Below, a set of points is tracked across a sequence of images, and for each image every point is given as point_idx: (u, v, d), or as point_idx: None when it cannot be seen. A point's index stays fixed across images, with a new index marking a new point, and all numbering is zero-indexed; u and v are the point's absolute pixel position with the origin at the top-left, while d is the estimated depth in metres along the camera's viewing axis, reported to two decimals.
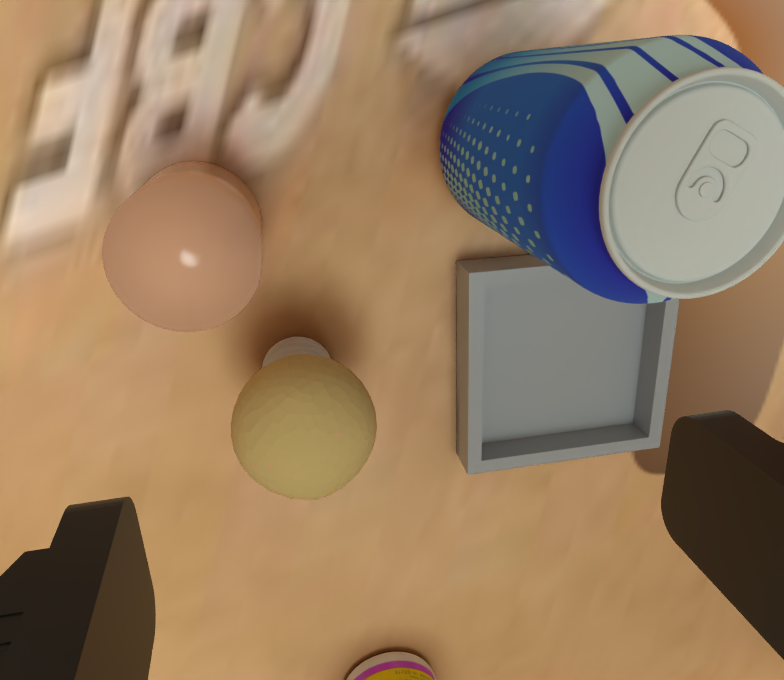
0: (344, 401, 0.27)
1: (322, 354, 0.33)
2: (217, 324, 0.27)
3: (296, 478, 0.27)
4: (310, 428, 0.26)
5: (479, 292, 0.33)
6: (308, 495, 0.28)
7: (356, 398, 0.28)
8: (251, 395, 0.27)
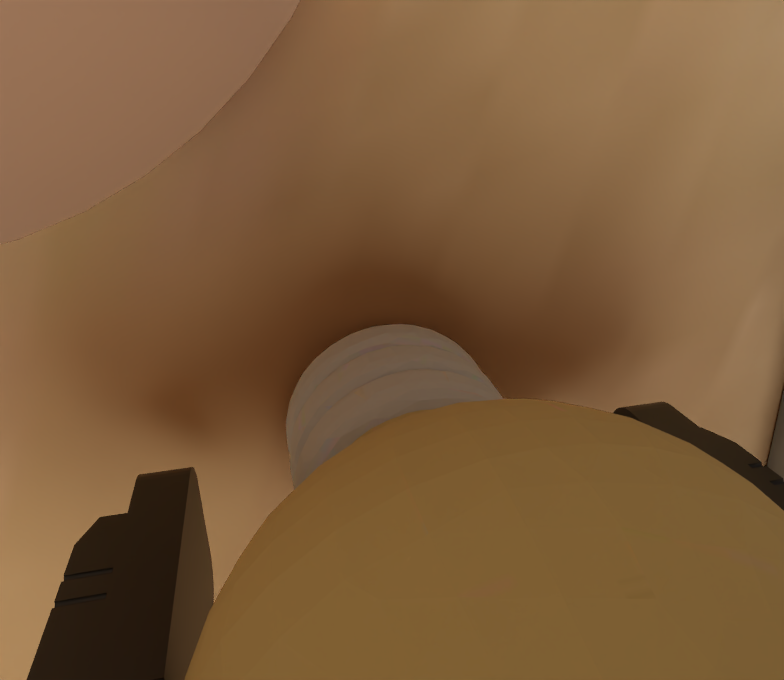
0: None
1: (486, 381, 0.10)
2: (36, 219, 0.04)
3: None
4: None
5: None
6: None
7: None
8: None
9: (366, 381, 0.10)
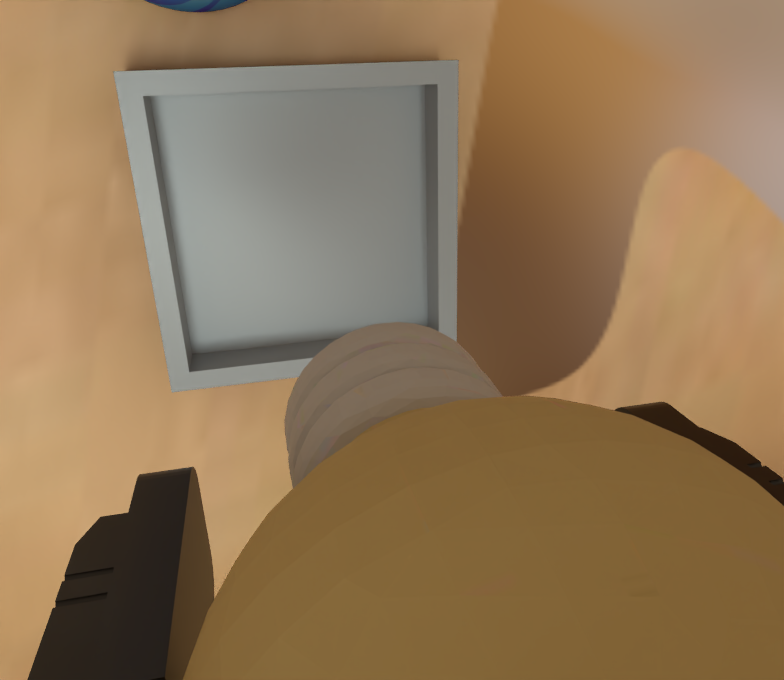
0: None
1: (486, 379, 0.10)
2: None
3: None
4: None
5: (137, 104, 0.22)
6: None
7: None
8: None
9: (365, 379, 0.10)
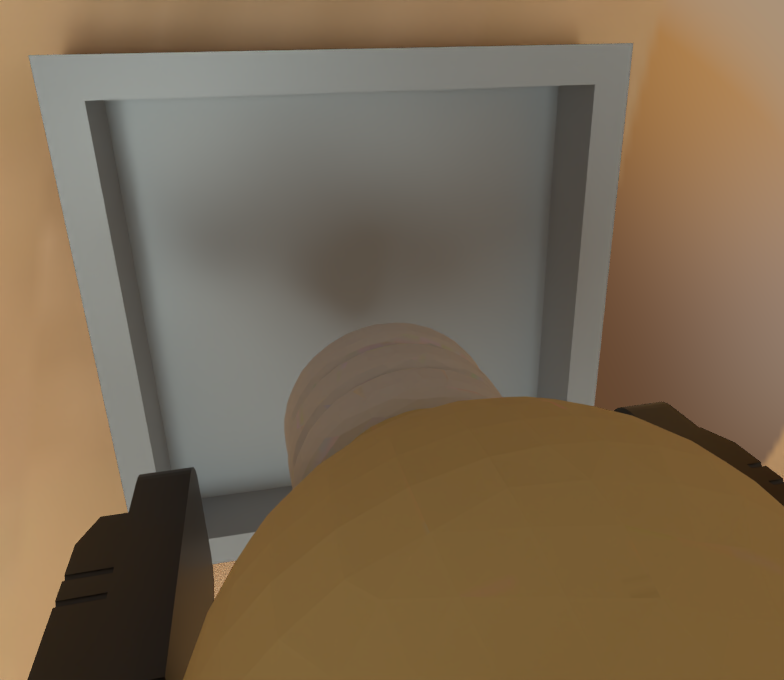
0: None
1: (485, 379, 0.10)
2: None
3: None
4: None
5: (74, 116, 0.12)
6: None
7: None
8: None
9: (365, 380, 0.10)
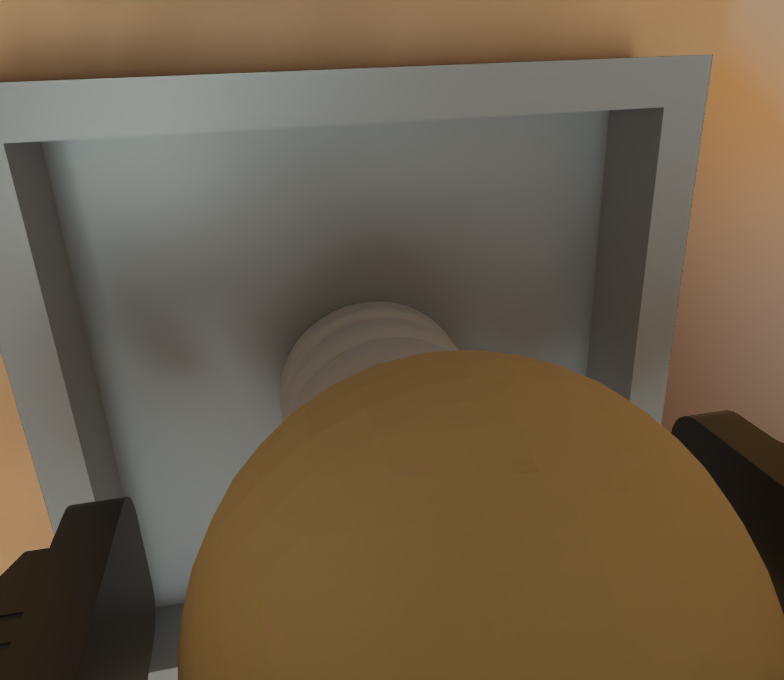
0: (736, 587, 0.05)
1: (455, 350, 0.12)
2: None
3: None
4: None
5: None
6: None
7: (749, 552, 0.06)
8: (268, 556, 0.06)
9: (348, 348, 0.11)
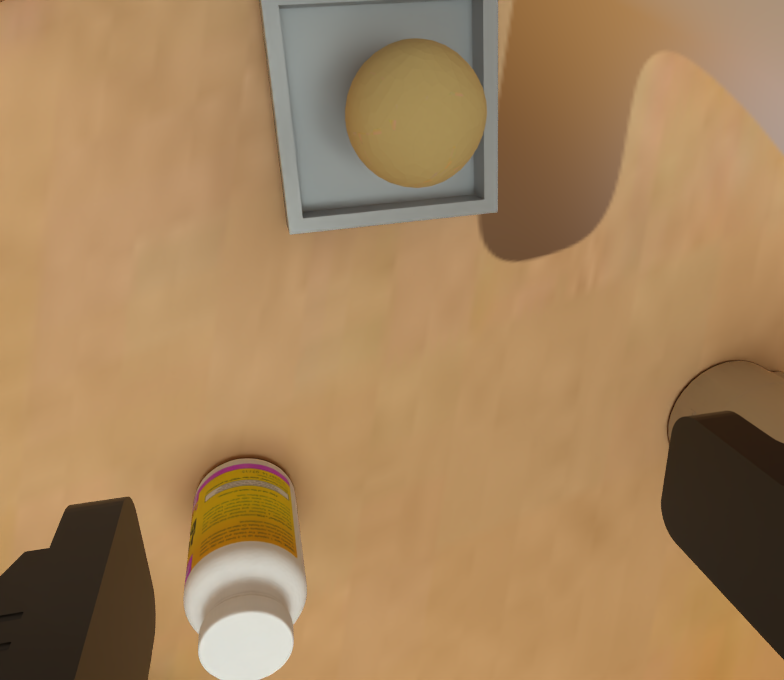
0: (463, 67, 0.28)
1: None
2: None
3: (419, 140, 0.27)
4: (434, 83, 0.27)
5: (274, 11, 0.32)
6: (427, 167, 0.28)
7: (471, 70, 0.28)
8: (370, 65, 0.28)
9: None
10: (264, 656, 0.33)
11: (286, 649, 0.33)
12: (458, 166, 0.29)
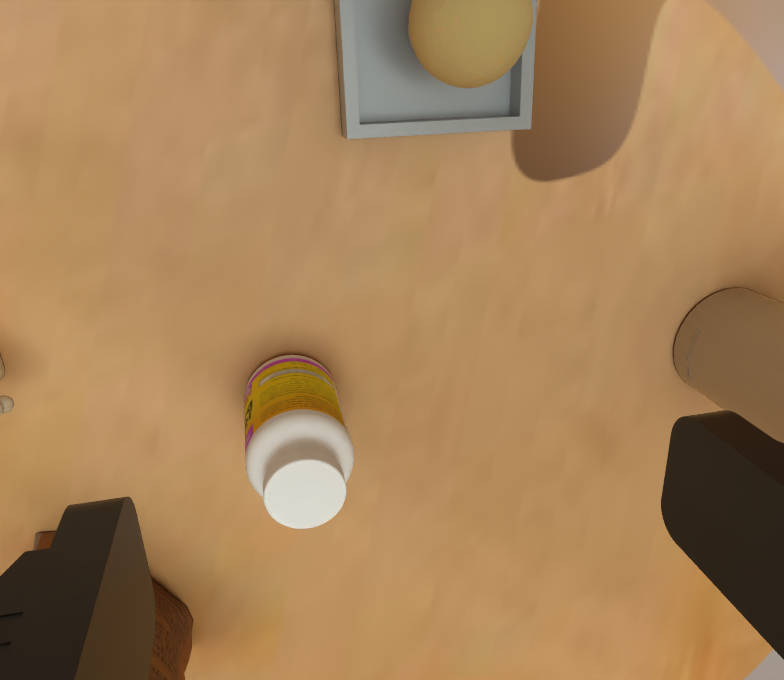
0: None
1: None
2: None
3: (476, 36, 0.32)
4: None
5: None
6: (481, 63, 0.33)
7: None
8: None
9: None
10: (320, 504, 0.37)
11: (340, 498, 0.37)
12: (506, 66, 0.34)
